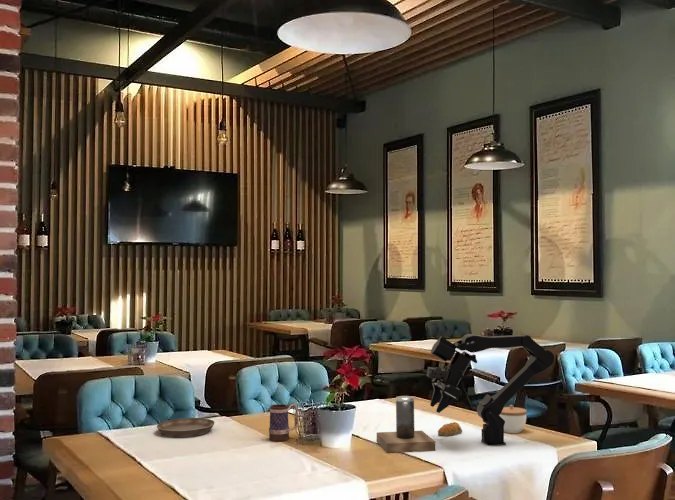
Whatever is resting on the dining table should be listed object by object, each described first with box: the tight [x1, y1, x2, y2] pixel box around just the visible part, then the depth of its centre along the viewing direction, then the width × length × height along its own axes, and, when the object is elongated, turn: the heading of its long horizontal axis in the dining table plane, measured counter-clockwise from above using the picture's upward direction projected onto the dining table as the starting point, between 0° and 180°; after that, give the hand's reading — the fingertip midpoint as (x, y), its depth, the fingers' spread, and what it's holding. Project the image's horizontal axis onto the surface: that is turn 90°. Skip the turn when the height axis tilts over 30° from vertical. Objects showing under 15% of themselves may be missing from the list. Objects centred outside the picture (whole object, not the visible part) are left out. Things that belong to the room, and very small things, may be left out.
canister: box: [395, 395, 415, 439], centre depth 246 cm, size 6×6×13 cm
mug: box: [268, 403, 299, 443], centre depth 256 cm, size 10×7×12 cm
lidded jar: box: [499, 404, 528, 434], centre depth 267 cm, size 11×11×9 cm
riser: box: [376, 430, 436, 454], centre depth 246 cm, size 16×16×3 cm
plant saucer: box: [156, 417, 216, 438], centre depth 269 cm, size 21×21×3 cm
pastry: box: [437, 421, 463, 437], centre depth 263 cm, size 9×7×4 cm
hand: (434, 409), depth 248 cm, fingers open, 9 cm apart
